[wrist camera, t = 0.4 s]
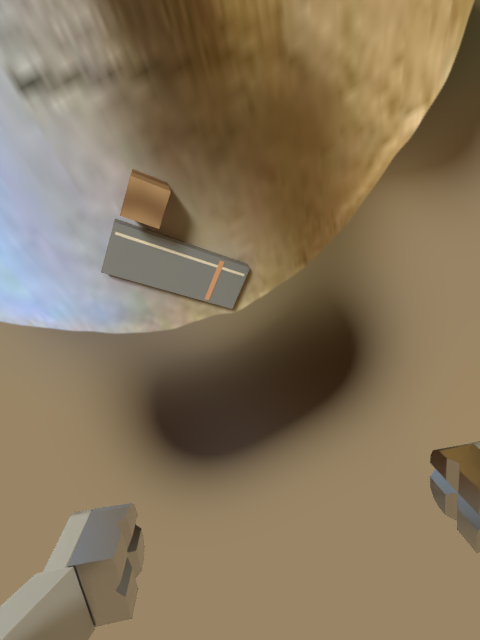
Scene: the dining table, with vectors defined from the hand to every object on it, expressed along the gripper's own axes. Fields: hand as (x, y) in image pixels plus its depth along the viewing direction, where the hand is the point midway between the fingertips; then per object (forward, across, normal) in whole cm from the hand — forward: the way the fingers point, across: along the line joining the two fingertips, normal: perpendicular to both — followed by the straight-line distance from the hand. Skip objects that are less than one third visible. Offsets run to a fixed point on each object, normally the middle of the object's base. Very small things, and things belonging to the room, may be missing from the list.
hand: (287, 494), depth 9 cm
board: (+49, +7, -2) cm, 50 cm away
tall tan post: (+46, +10, -13) cm, 49 cm away
